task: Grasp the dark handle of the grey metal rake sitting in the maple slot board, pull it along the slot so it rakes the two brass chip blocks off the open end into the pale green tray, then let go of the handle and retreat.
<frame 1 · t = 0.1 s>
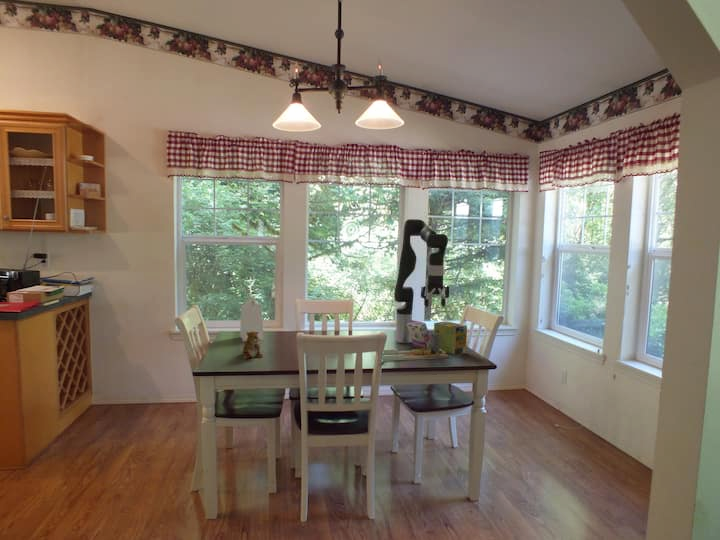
hand: (434, 306, 222), 29 cm above the table, fingers open, 8 cm apart
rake: (434, 344, 236), point 7 cm above the table, slide at 0.0 cm
protein box: (449, 351, 248), on the table
slot board: (422, 357, 235), on the table
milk: (251, 338, 267), on the table
chip b: (425, 355, 235), point 1 cm above the table, touching slot board
stuffed squirrel: (251, 356, 232), on the table
candy bar box: (424, 348, 250), point 1 cm above the table
chip a: (417, 355, 234), point 1 cm above the table, touching slot board
tray: (389, 358, 231), on the table
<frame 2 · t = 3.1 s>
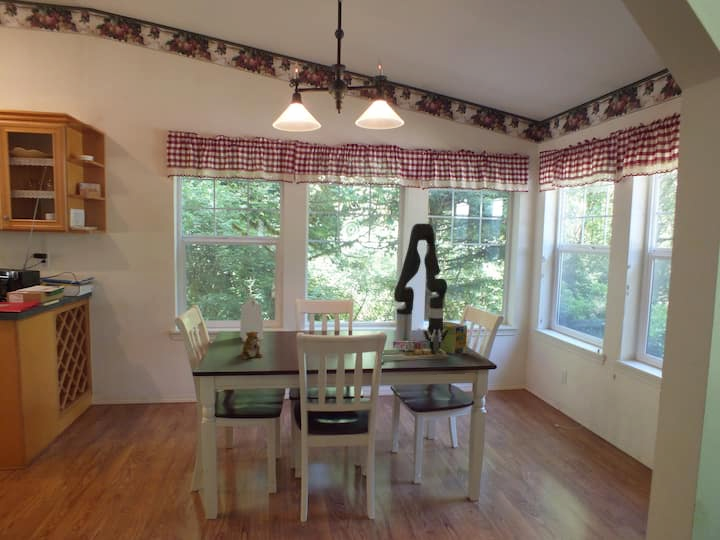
hand: (434, 348, 236), 5 cm above the table, fingers closed on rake, 3 cm apart
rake: (435, 344, 236), point 7 cm above the table, slide at 0.0 cm, touching gripper
candy bar box: (421, 344, 249), point 3 cm above the table, touching slot board
everything else where it was.
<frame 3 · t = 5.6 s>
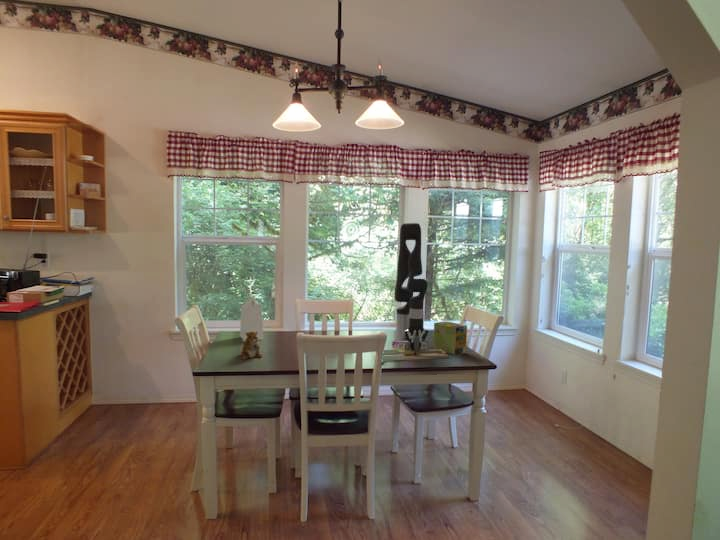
hand: (415, 348, 234), 5 cm above the table, fingers closed on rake, 3 cm apart
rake: (415, 345, 233), point 7 cm above the table, slide at 10.9 cm, touching gripper
chip b: (408, 356, 233), point 1 cm above the table, touching chip a
chip a: (401, 356, 232), point 1 cm above the table, touching chip b
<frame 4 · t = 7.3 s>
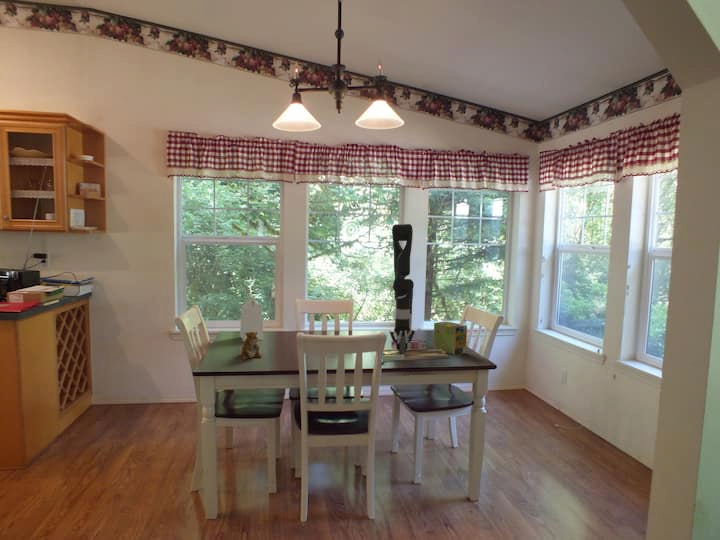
hand: (401, 349, 232), 5 cm above the table, fingers closed on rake, 3 cm apart
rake: (401, 345, 232), point 7 cm above the table, slide at 18.5 cm, touching chip b, gripper
chip b: (395, 357, 231), point 1 cm above the table, touching chip a, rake
chip a: (387, 358, 230), resting on tray, touching chip b
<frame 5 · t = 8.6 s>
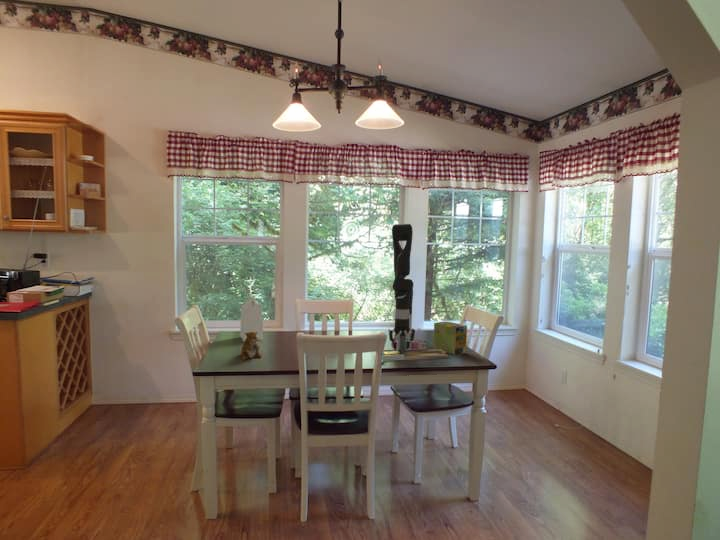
hand: (401, 348, 232), 5 cm above the table, fingers open, 6 cm apart
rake: (401, 345, 232), point 7 cm above the table, slide at 18.6 cm
chip b: (394, 358, 231), resting on tray
chip a: (387, 358, 230), resting on tray
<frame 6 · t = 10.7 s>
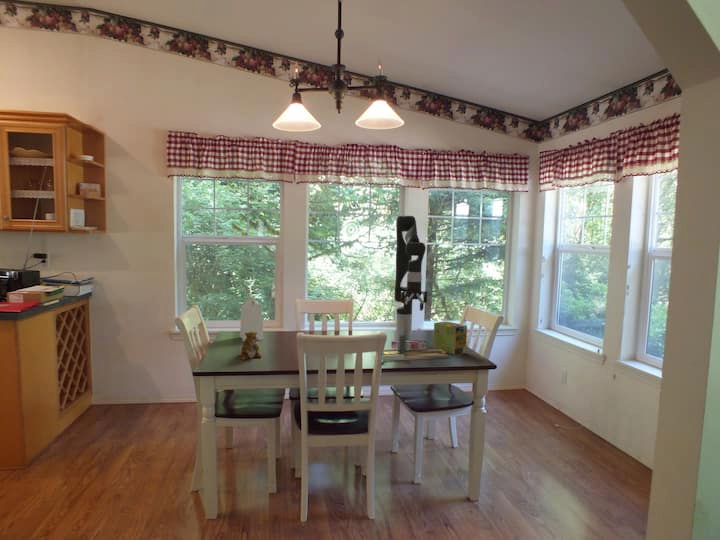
hand: (413, 310, 235), 24 cm above the table, fingers open, 8 cm apart
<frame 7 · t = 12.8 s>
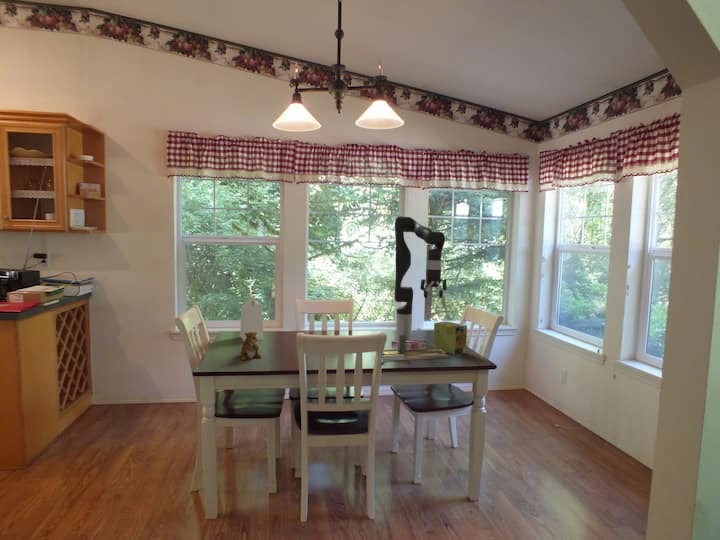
hand: (433, 297, 244), 30 cm above the table, fingers open, 8 cm apart
at the end: chip a inside the target area on the tray (1.2 cm from its centre), point 0.3 cm above the tray's base; chip b inside the target area on the tray (2.8 cm from its centre), point 0.3 cm above the tray's base; the gripper is holding nothing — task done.
